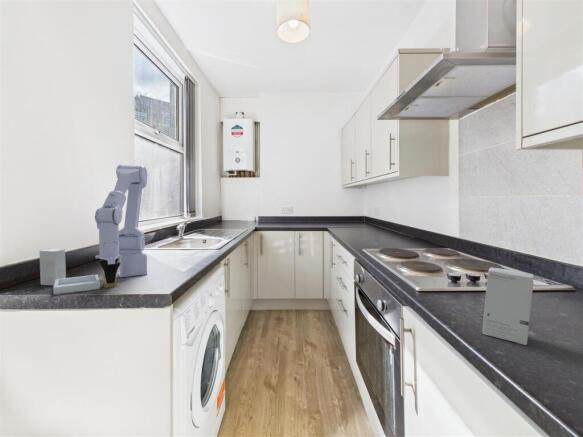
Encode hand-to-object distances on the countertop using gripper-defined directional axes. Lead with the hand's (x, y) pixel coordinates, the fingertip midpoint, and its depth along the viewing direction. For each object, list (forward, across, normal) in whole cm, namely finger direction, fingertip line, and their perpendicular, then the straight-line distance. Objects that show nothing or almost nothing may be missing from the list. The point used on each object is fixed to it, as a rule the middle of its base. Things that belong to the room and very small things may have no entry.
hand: (110, 281), depth 99 cm
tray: (+2, -4, -9) cm, 10 cm away
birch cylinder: (+2, 0, 0) cm, 2 cm away
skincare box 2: (+2, +94, +69) cm, 117 cm away
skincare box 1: (+2, -14, -16) cm, 21 cm away
